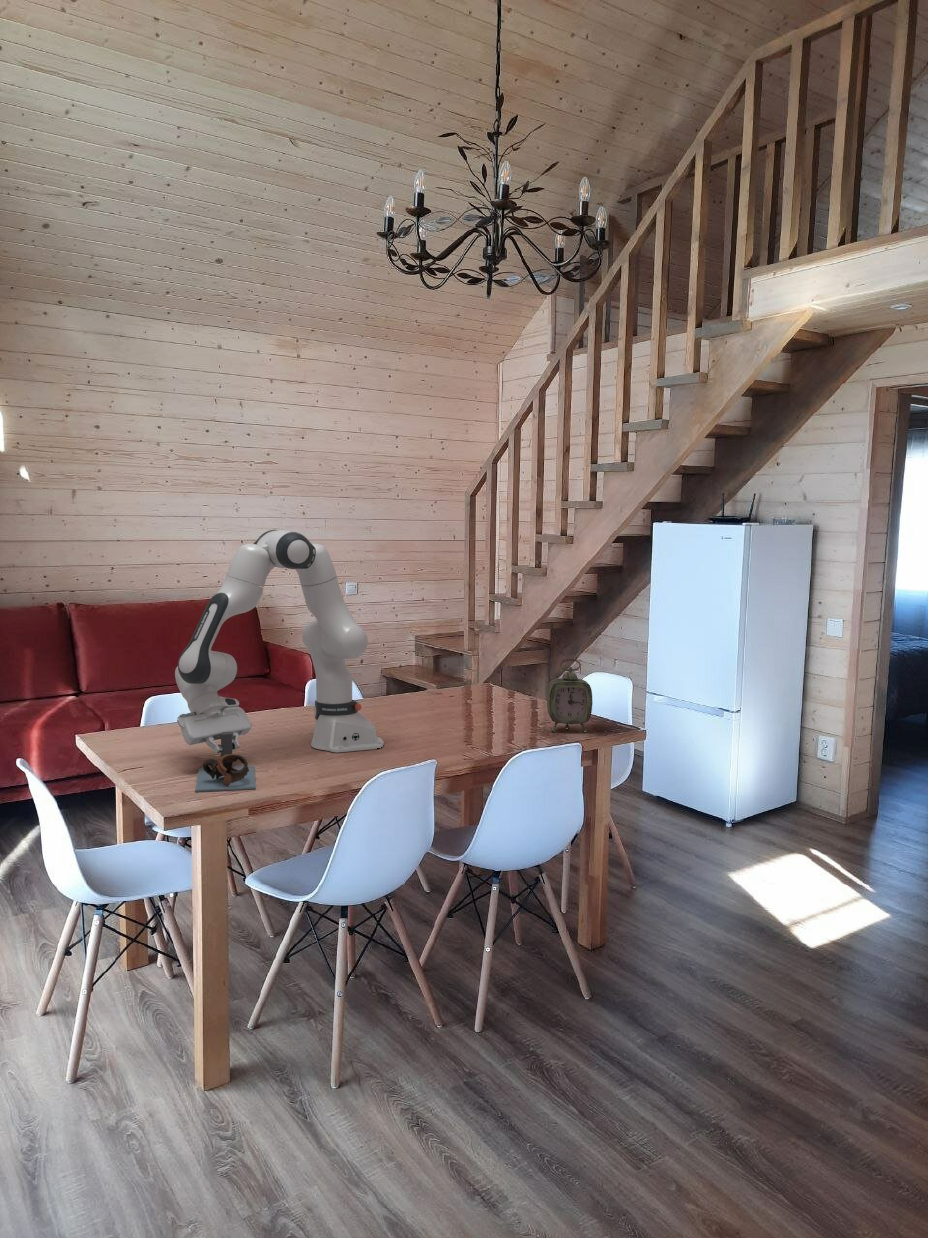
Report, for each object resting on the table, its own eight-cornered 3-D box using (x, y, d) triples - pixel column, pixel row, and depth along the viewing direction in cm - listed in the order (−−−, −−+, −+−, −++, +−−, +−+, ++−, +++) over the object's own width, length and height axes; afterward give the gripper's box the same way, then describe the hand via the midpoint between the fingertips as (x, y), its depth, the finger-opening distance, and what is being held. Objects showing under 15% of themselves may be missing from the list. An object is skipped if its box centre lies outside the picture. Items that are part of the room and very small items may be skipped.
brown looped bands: (247, 776, 244) (253, 754, 240) (241, 801, 236) (247, 778, 232) (203, 766, 242) (208, 744, 238) (195, 791, 234) (200, 768, 230)
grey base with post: (254, 767, 254) (254, 730, 252) (255, 789, 233) (255, 749, 232) (199, 769, 250) (198, 732, 249) (195, 792, 230) (194, 751, 229)
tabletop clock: (548, 733, 301) (550, 660, 299) (545, 727, 310) (547, 656, 308) (591, 734, 302) (594, 660, 299) (586, 728, 311) (589, 656, 308)
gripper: (179, 708, 245) (199, 750, 240) (242, 698, 261) (262, 737, 255) (170, 722, 249) (190, 763, 243) (233, 711, 264) (253, 750, 259)
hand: (228, 750), depth 249 cm, fingers closed on grey base with post, 4 cm apart
